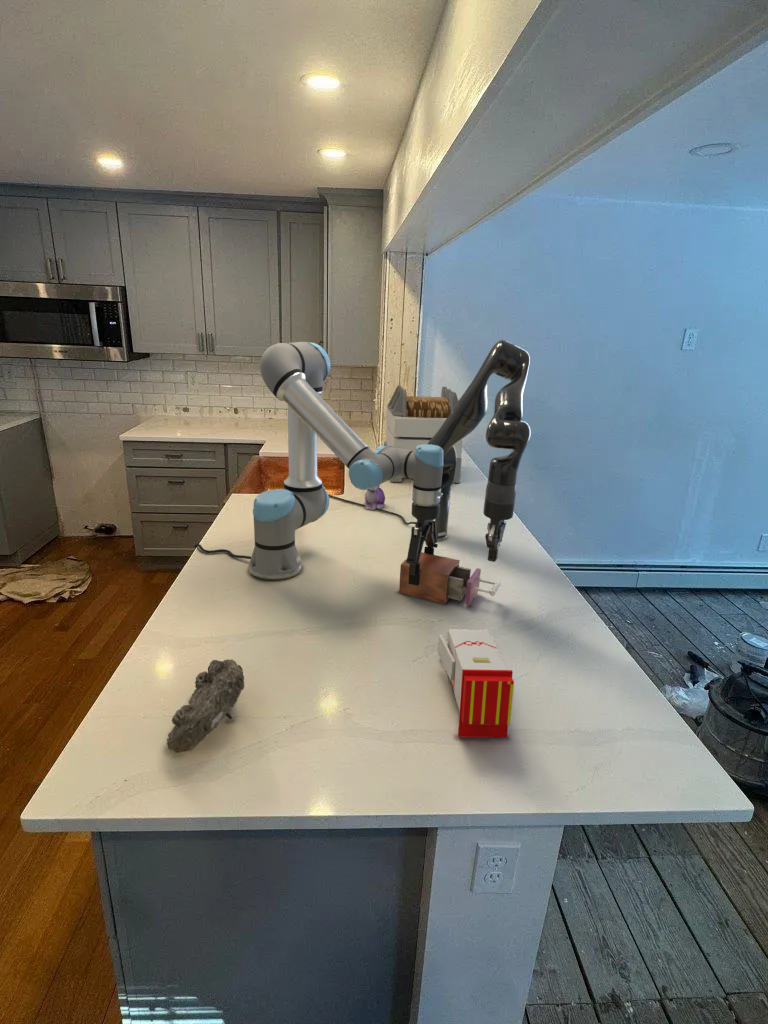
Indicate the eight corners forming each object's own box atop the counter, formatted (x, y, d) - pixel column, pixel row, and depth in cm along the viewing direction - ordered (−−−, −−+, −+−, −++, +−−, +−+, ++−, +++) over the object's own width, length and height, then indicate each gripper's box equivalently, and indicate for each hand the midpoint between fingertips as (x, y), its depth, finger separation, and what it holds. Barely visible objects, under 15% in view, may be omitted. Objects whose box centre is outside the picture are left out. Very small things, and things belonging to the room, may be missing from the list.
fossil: (192, 660, 117) (244, 628, 112) (224, 691, 120) (276, 661, 115) (142, 746, 98) (202, 712, 93) (182, 779, 101) (242, 748, 96)
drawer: (500, 595, 157) (502, 573, 155) (491, 611, 149) (494, 588, 147) (436, 581, 164) (438, 559, 162) (425, 595, 156) (427, 572, 154)
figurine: (369, 511, 219) (370, 474, 214) (358, 503, 228) (359, 467, 223) (390, 509, 224) (392, 472, 219) (378, 501, 232) (380, 465, 227)
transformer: (382, 463, 289) (386, 382, 275) (445, 464, 293) (451, 384, 279) (390, 482, 257) (394, 392, 243) (460, 483, 261) (468, 394, 247)
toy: (488, 613, 130) (523, 677, 101) (484, 667, 133) (517, 744, 104) (435, 612, 130) (455, 676, 101) (432, 666, 133) (451, 743, 103)
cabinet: (457, 587, 163) (459, 560, 160) (445, 604, 154) (447, 575, 151) (413, 577, 168) (414, 550, 165) (398, 592, 159) (400, 564, 156)
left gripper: (424, 517, 141) (418, 596, 149) (452, 493, 162) (446, 563, 169) (396, 512, 144) (392, 589, 152) (427, 489, 164) (422, 558, 172)
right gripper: (508, 508, 137) (500, 573, 143) (520, 493, 148) (511, 554, 154) (478, 503, 140) (471, 566, 146) (491, 489, 151) (484, 548, 157)
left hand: (420, 575), depth 160 cm, fingers closed on cabinet, 11 cm apart
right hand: (492, 560), depth 150 cm, fingers closed
